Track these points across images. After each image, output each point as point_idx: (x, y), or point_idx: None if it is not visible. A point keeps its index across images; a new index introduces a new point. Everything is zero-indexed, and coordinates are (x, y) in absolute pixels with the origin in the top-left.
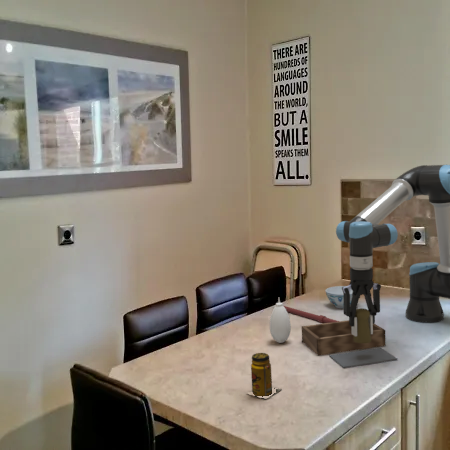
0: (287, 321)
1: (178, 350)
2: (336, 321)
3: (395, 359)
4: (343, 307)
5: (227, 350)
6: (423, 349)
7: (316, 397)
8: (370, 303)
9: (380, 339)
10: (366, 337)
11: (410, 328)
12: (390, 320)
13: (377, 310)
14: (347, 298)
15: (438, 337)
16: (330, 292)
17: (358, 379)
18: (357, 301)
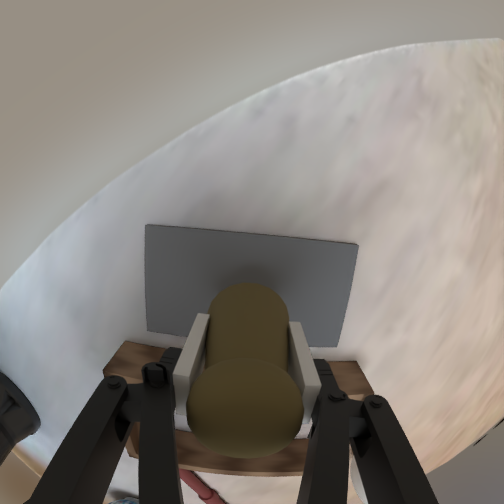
0: None
1: (489, 420)
2: (190, 481)
3: (153, 225)
4: (138, 501)
5: (458, 418)
6: (48, 264)
7: (478, 128)
8: (163, 453)
9: (132, 356)
10: (248, 296)
11: (40, 384)
12: None
13: (120, 388)
14: (429, 499)
15: (5, 310)
16: None
17: (361, 146)
18: (318, 492)
